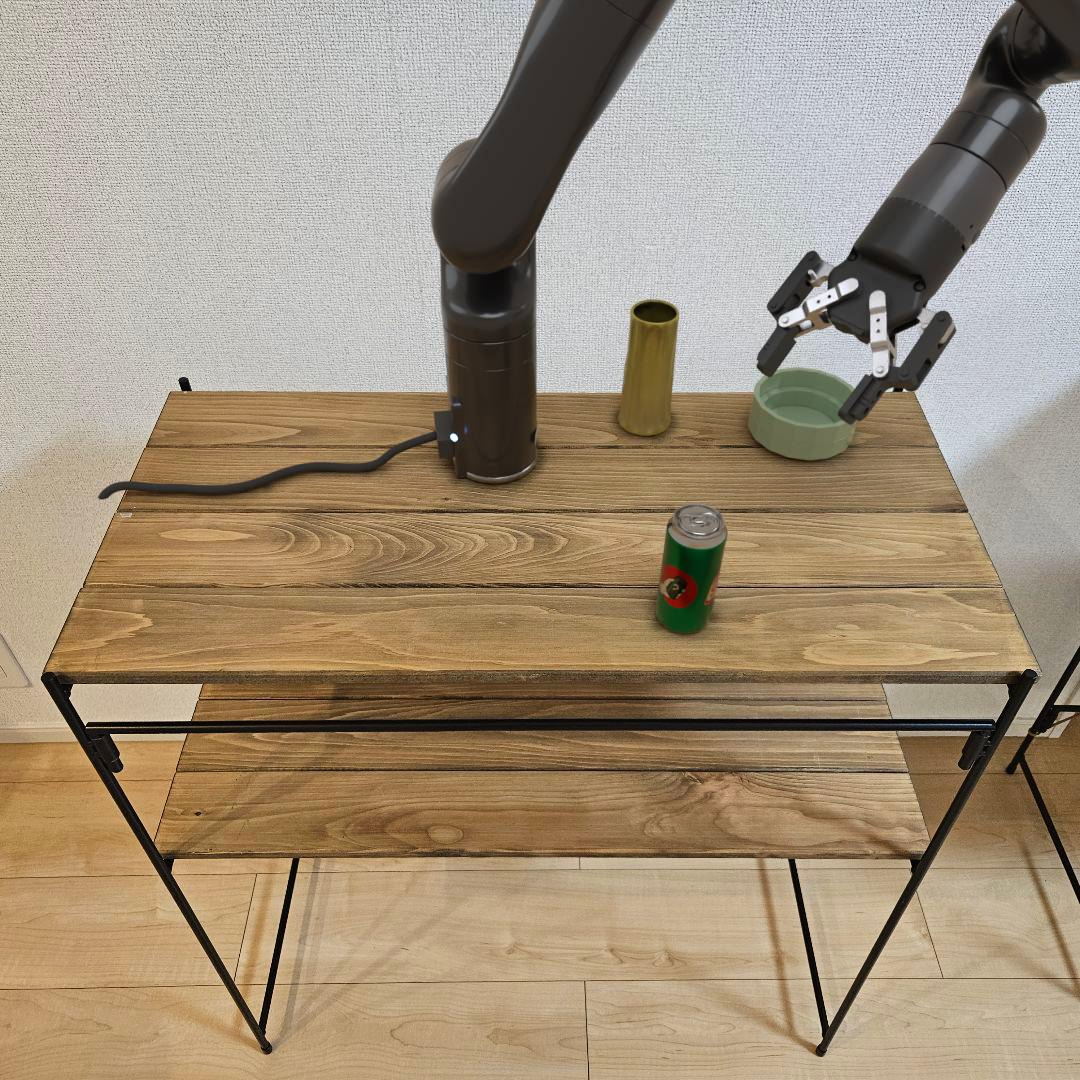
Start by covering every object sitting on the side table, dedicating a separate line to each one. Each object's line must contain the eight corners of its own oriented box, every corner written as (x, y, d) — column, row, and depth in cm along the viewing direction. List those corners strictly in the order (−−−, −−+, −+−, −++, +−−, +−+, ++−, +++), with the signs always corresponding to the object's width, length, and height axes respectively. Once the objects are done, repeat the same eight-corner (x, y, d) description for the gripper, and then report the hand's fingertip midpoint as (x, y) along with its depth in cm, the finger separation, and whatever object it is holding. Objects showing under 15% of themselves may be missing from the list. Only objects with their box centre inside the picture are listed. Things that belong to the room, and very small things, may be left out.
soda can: (713, 637, 80) (733, 541, 72) (656, 636, 80) (670, 540, 72) (706, 596, 84) (725, 500, 75) (652, 595, 84) (665, 499, 75)
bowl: (767, 469, 97) (776, 432, 94) (733, 408, 106) (740, 372, 102) (867, 458, 99) (879, 421, 95) (826, 399, 107) (835, 363, 103)
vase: (655, 401, 106) (667, 292, 97) (679, 430, 102) (694, 319, 92) (609, 412, 105) (616, 302, 95) (631, 441, 101) (641, 330, 91)
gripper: (840, 169, 71) (720, 341, 74) (1003, 230, 63) (860, 422, 66) (865, 216, 77) (753, 374, 80) (1017, 278, 69) (886, 451, 72)
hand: (802, 395), depth 73 cm, fingers open, 8 cm apart
